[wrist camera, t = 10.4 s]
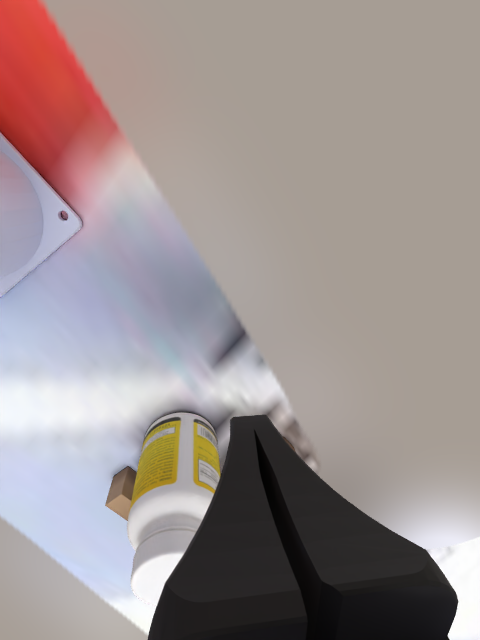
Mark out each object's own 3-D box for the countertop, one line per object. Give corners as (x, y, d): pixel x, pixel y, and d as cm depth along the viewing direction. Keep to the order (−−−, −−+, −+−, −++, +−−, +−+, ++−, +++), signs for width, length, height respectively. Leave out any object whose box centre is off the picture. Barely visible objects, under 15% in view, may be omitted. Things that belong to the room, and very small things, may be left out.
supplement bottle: (138, 463, 25) (104, 615, 16) (152, 404, 23) (124, 536, 14) (207, 472, 26) (213, 619, 17) (225, 416, 25) (242, 546, 16)
